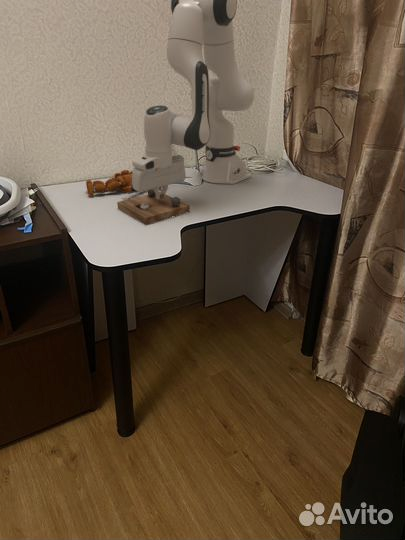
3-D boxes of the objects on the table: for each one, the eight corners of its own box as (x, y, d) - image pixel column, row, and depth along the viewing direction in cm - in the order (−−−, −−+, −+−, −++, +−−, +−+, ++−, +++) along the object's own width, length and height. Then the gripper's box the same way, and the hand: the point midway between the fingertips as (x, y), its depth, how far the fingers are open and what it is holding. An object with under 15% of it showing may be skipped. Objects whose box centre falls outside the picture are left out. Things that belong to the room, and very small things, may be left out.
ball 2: (176, 203, 138) (176, 194, 136) (182, 206, 136) (182, 197, 134) (169, 205, 136) (169, 196, 134) (174, 208, 134) (174, 199, 132)
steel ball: (146, 209, 139) (145, 200, 137) (152, 212, 136) (151, 203, 135) (138, 212, 137) (137, 203, 135) (143, 215, 135) (142, 206, 133)
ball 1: (153, 194, 146) (152, 185, 144) (158, 196, 144) (157, 188, 142) (145, 195, 144) (145, 187, 142) (150, 198, 142) (150, 189, 140)
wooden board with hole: (159, 198, 150) (159, 191, 148) (189, 212, 138) (189, 205, 137) (117, 208, 139) (117, 202, 138) (146, 225, 128) (145, 217, 126)
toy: (92, 206, 144) (171, 194, 153) (89, 188, 141) (170, 177, 149) (86, 189, 160) (157, 179, 169) (82, 173, 156) (155, 163, 165)
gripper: (178, 152, 140) (178, 189, 147) (128, 161, 128) (131, 202, 135) (189, 155, 136) (189, 194, 143) (138, 166, 124) (141, 207, 131)
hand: (160, 198), depth 139 cm, fingers closed
